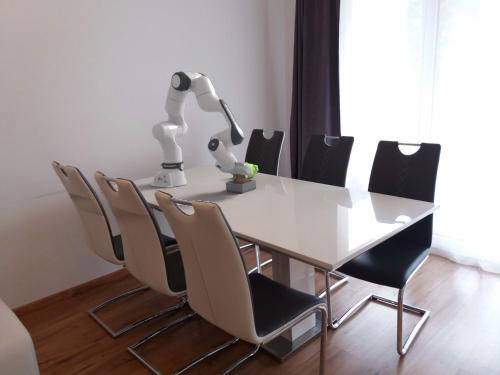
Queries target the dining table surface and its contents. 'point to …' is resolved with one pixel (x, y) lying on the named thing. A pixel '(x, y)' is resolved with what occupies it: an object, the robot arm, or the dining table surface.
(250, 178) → the teapot
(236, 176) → the walnut crate
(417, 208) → the dining table surface
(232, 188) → the charcoal crate
